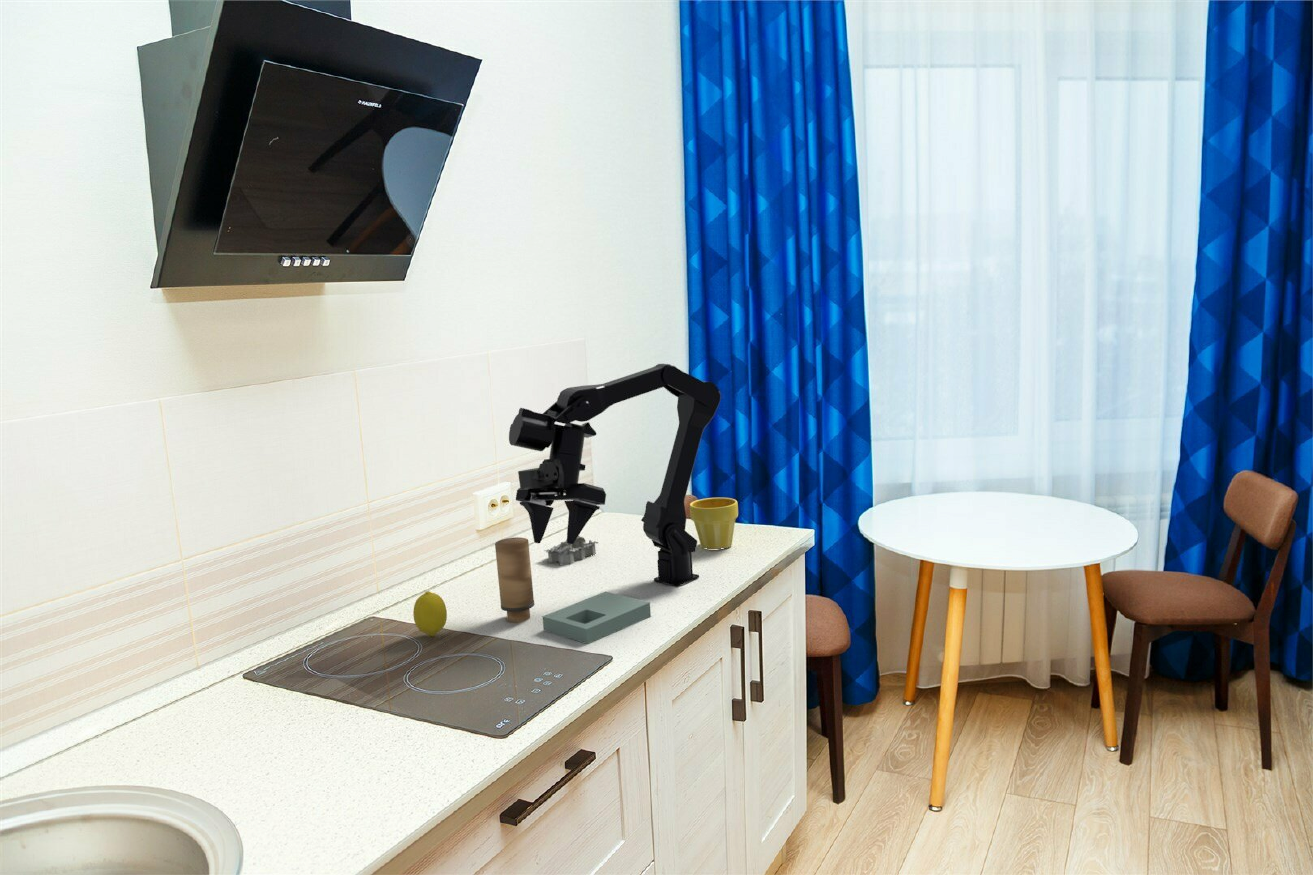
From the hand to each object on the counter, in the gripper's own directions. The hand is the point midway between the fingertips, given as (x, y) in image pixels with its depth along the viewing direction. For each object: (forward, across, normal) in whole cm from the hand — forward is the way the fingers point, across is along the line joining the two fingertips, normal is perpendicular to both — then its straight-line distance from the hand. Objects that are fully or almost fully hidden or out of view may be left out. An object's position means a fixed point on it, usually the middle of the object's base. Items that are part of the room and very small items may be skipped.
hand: (553, 543), depth 165 cm
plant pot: (-7, -6, +49) cm, 50 cm away
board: (+13, +7, +6) cm, 16 cm away
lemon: (+18, -12, -13) cm, 26 cm away
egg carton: (0, -27, +27) cm, 38 cm away
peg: (+14, -7, 0) cm, 15 cm away
